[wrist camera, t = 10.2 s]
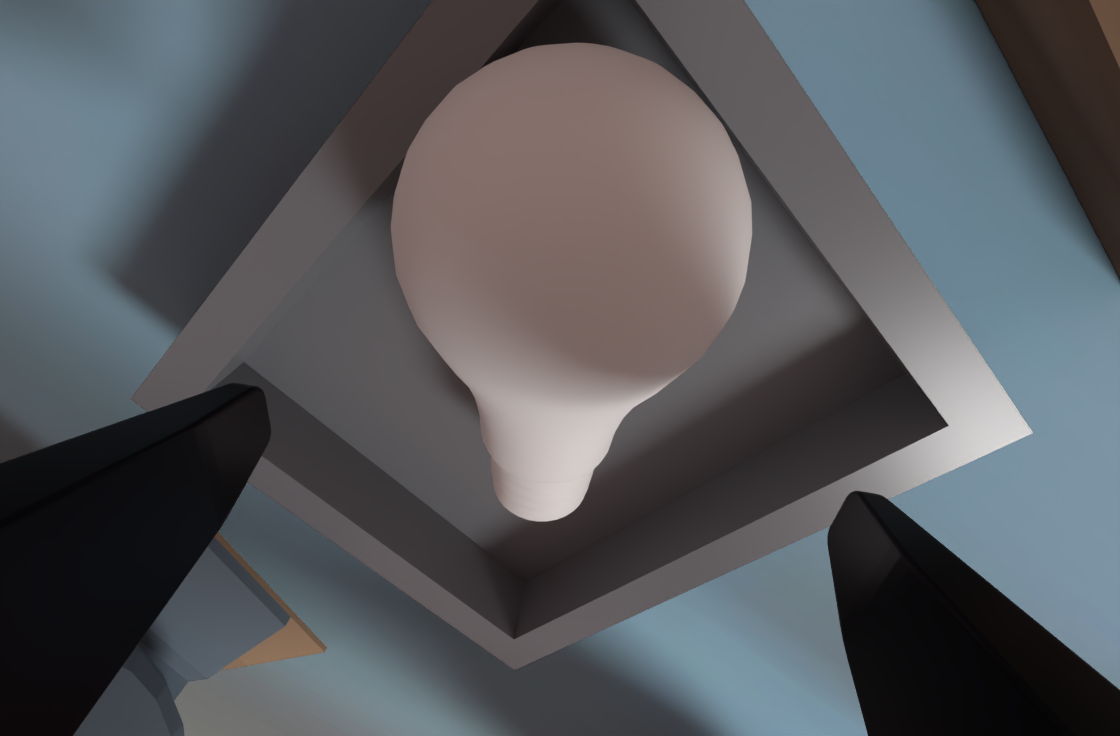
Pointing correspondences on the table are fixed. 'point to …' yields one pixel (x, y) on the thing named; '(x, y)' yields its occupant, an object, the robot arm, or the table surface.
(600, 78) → the lightbulb
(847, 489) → the tray
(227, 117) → the table surface
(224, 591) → the alarm clock
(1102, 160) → the socket block
